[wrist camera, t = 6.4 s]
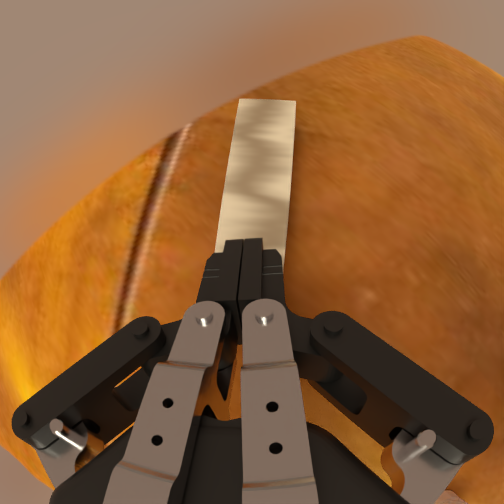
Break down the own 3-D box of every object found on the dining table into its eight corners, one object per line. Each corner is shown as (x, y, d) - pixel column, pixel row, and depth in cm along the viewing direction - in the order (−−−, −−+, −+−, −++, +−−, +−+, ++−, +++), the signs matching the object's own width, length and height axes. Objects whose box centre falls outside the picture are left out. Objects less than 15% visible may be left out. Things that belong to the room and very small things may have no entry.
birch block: (278, 314, 24) (294, 131, 27) (278, 317, 19) (295, 101, 22) (221, 307, 25) (246, 128, 28) (207, 308, 20) (239, 98, 23)
